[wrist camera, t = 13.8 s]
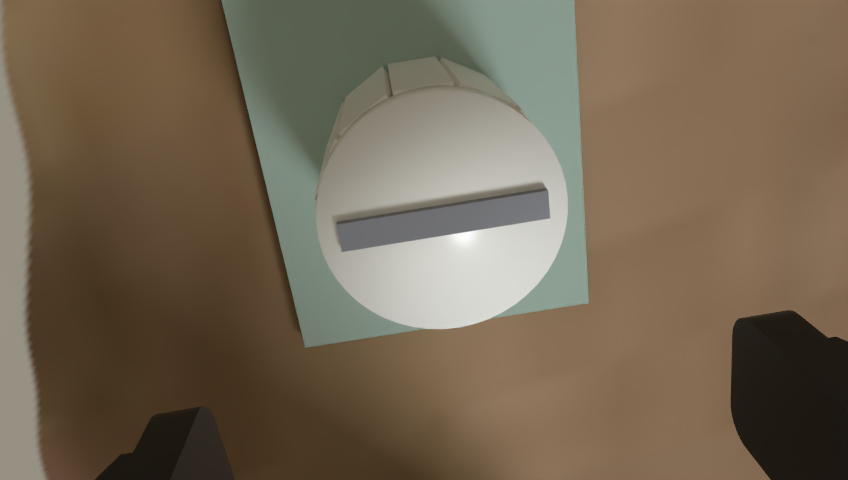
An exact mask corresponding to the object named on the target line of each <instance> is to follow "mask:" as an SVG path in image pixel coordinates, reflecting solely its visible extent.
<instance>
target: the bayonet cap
mask: <svg viewBox="0 0 848 480" xmlns="http://www.w3.org/2000/svg"><path fill="white" fill-rule="evenodd" d="M388 70H389V74H388V72H387V71H386V70H385V69H384V67H383V66H382V67H381V68H380V69H378V70H377V71H376V72H375V73H374V74H372V75H371V76H370V77H369V78H368V79H366V80H365V81H364V82H363V83H362V84H360V85H359V86H358V87H357V88H356V89H354V90H353V91H352V92H351V93H350V94H348V95H347V96H346V97H345V102H343V101H342V104H341V106H340V109H339V112H338V115H337V118H336V121H335V123H334V126H333V129H332V132H331V135H330V138H329V140H328V143H327V147H326V151H325V155H324V159H323V163H322V167H321V171H320V175H319V180H318V184H317V188H316V192H315V193H316V197H315V202H316V226H317V232H318V239H319V242H320V246H321V249H322V252H323V255H324V257H325V259H326V262H327V264H328V266H329V268H330V270H331V271H332V273H333V274H334V276H335V277H336V279H337V281H338V282H339V283H340V284H341V285H342V286H343V288H344V289H345V290H346V291H347V292H348V293H349V294H350V295H351V296H352V297H353V298H354V299H355V300H356V301H358V302H359V303H360V304H362V305H363V306H364V307H366V308H367V309H369V310H370V311H372V312H374V313H376V314H378V315H379V316H381V317H383V318H386V319H388V320H391V321H393V322H396V323H399V324H403V325H407V326H411V327H417V328H425V329H449V328H459V327H463V326H468V325H472V324H476V323H479V322H482V321H484V320H487V319H490V318H492V317H494V316H496V315H498V314H500V313H502V312H504V311H505V310H507V309H509V308H510V307H512V306H513V305H515V304H516V303H518V302H519V301H520V300H521V299H523V298H524V297H525V296H526V295H528V294H529V293H530V291H531V290H532V289H533V288H534V287H535V286H536V285H537V284H538V283H539V282H540V281H541V279H542V278H543V277H544V275H545V274H546V273H547V272H548V270H549V268H550V266H551V265H552V263H553V261H554V260H555V258H556V256H557V253H558V251H559V249H560V246H561V244H562V240H563V237H564V233H565V230H566V223H567V216H568V196H567V188H566V182H565V178H564V175H563V171H562V168H561V166H560V163H559V161H558V159H557V157H556V154H555V152H554V151H553V149H552V148H551V146H550V144H549V143H548V141H547V140H546V139H545V137H544V136H543V135H542V134H541V133H540V131H539V130H538V129H537V128H536V127H535V126H534V125H533V124H532V122H531V121H530V120H529V118H528V117H527V115H526V114H525V113H524V111H523V110H522V109H521V108H520V107H519V106H518V105H517V104H516V103H515V102H514V101H513V100H512V99H511V98H510V97H509V96H508V95H507V94H505V93H504V92H503V91H502V90H501V89H500V88H499V87H498V86H497V85H496V84H495V83H494V82H493V81H492V80H491V79H490V78H488V77H487V76H486V75H484V74H482V73H479V72H477V71H474V70H472V69H469V68H467V67H464V66H462V65H460V64H457V63H455V62H452V61H450V60H447V59H445V58H442V57H441V58H440V60H439V61H438V59H437V58H436V56H434V57H428V58H422V59H415V60H409V61H403V62H396V63H390V64H388Z"/></svg>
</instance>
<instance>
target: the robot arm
mask: <svg viewBox="0 0 848 480" xmlns="http://www.w3.org/2000/svg"><path fill="white" fill-rule="evenodd" d="M731 412H732V417H733V421H734V424H735V427H736V430H737V433H738V435H739V437H740V439H741V441H742V443H743V444H744V446H745V447H746V448H747V450H748V451H749V452H750V454H751V455H752V456H753V457H754V459H755V460H756V461H757V463H758V464H759V465H760V466H761V468H762V469H763V470H764V471H765V473H766V474H767V475H768V477H769V478H770V479H771V480H848V342H847V341H845V340H843V339H840V338H838V337H832V338H827V337H826V336H825V335H824V334H822V333H821V332H820V331H819V330H817V329H816V328H815V327H814V326H812V325H811V324H810V323H809V322H807V321H806V320H805V319H804V318H802V317H801V316H800V315H799V314H797V313H796V312H794V311H790V310H787V311H781V312H775V313H769V314H763V315H757V316H751V317H745V318H740V319H738V320H737V321H736V322H735V324H734V327H733V335H732V372H731ZM95 480H234V477H233V474H232V471H231V468H230V465H229V462H228V459H227V456H226V453H225V450H224V446H223V443H222V440H221V437H220V434H219V431H218V428H217V425H216V422H215V419H214V416H213V414H212V412H211V411H210V409H209V408H207V407H205V406H204V407H197V408H191V409H185V410H179V411H173V412H167V413H161V414H156V415H154V416H153V417H152V418H151V419H150V421H149V423H148V425H147V427H146V429H145V431H144V433H143V435H142V437H141V439H140V441H139V443H138V444H137V446H136V448H135V450H134V452H133V453H128V454H122V455H120V456H119V457H118V458H117V459H116V460H115V461H114V462H113V463H112V464H111V465H110V466H108V467H107V468H106V469H105V470H104V471H103V472H102V473H101V474H100V475H99V476H98V477H97V478H96V479H95Z"/></svg>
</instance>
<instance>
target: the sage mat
mask: <svg viewBox="0 0 848 480" xmlns="http://www.w3.org/2000/svg"><path fill="white" fill-rule="evenodd" d="M221 1H222V5H223V9H224V13H225V17H226V21H227V26H228V30H229V34H230V38H231V42H232V46H233V51H234V55H235V59H236V63H237V67H238V71H239V75H240V80H241V84H242V88H243V92H244V96H245V100H246V104H247V109H248V113H249V117H250V121H251V125H252V129H253V134H254V138H255V142H256V146H257V150H258V154H259V158H260V163H261V167H262V171H263V175H264V179H265V183H266V187H267V192H268V196H269V200H270V204H271V208H272V212H273V216H274V221H275V225H276V229H277V233H278V237H279V241H280V246H281V250H282V254H283V258H284V262H285V266H286V270H287V275H288V279H289V283H290V287H291V291H292V295H293V299H294V304H295V308H296V312H297V316H298V320H299V324H300V328H301V333H302V337H303V341H304V345H305V348H308V347H314V346H320V345H327V344H333V343H339V342H346V341H352V340H358V339H365V338H371V337H377V336H383V335H390V334H396V333H402V332H409V331H415V330H421V329H425V328H417V327H411V326H407V325H403V324H399V323H396V322H393V321H391V320H388V319H386V318H383V317H381V316H379V315H378V314H376V313H374V312H372V311H370V310H369V309H367V308H366V307H364V306H363V305H362V304H360V303H359V302H358V301H356V300H355V299H354V298H353V297H352V296H351V295H350V294H349V293H348V292H347V291H346V290H345V289H344V288H343V286H342V285H341V284H340V283H339V282H338V281H337V279H336V277H335V276H334V274H333V273H332V271H331V270H330V268H329V266H328V264H327V262H326V259H325V257H324V255H323V252H322V249H321V246H320V242H319V239H318V232H317V226H316V202H315V197H316V193H315V192H316V188H317V184H318V180H319V175H320V171H321V167H322V163H323V159H324V155H325V151H326V147H327V143H328V140H329V138H330V135H331V132H332V129H333V126H334V123H335V121H336V118H337V115H338V112H339V109H340V106H341V104H342V101H343V102H345V97H346V96H347V95H348V94H350V93H351V92H352V91H353V90H354V89H356V88H357V87H358V86H359V85H360V84H362V83H363V82H364V81H365V80H366V79H368V78H369V77H370V76H371V75H372V74H374V73H375V72H376V71H377V70H378V69H380V68H381V67H382V66H383V67H384V69H385V70H386V71H387V72H388V74H389V70H388V64H390V63H396V62H403V61H409V60H415V59H422V58H428V57H434V56H436V58H437V59H438V61H439V60H440V58H441V57H442V58H445V59H447V60H450V61H452V62H455V63H457V64H460V65H462V66H464V67H467V68H469V69H472V70H474V71H477V72H479V73H482V74H484V75H486V76H487V77H488V78H490V79H491V80H492V81H493V82H494V83H495V84H496V85H497V86H498V87H499V88H500V89H501V90H502V91H503V92H504V93H505V94H507V95H508V96H509V97H510V98H511V99H512V100H513V101H514V102H515V103H516V104H517V105H518V106H519V107H520V108H521V109H522V110H523V111H524V113H525V114H526V115H527V117H528V118H529V120H530V121H531V122H532V124H533V125H534V126H535V127H536V128H537V129H538V130H539V131H540V133H541V134H542V135H543V136H544V137H545V139H546V140H547V141H548V143H549V144H550V146H551V148H552V149H553V151H554V152H555V154H556V157H557V159H558V161H559V163H560V166H561V168H562V171H563V175H564V178H565V182H566V188H567V196H568V216H567V223H566V230H565V233H564V237H563V240H562V244H561V246H560V249H559V251H558V253H557V256H556V258H555V260H554V261H553V263H552V265H551V266H550V268H549V270H548V272H547V273H546V274H545V275H544V277H543V278H542V279H541V281H540V282H539V283H538V284H537V285H536V286H535V287H534V288H533V289H532V290H531V291H530V293H529V294H528V295H526V296H525V297H524V298H523V299H521V300H520V301H519V302H518V303H516V304H515V305H513V306H512V307H510V308H509V309H507V310H505V311H504V312H502V313H500V314H498V315H496V316H494V317H492V318H497V317H503V316H510V315H516V314H522V313H529V312H535V311H541V310H547V309H554V308H560V307H566V306H573V305H579V304H585V303H589V300H588V279H587V258H586V237H585V216H584V195H583V174H582V153H581V132H580V111H579V90H578V69H577V48H576V27H575V6H574V0H221ZM490 319H491V318H490Z"/></svg>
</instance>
